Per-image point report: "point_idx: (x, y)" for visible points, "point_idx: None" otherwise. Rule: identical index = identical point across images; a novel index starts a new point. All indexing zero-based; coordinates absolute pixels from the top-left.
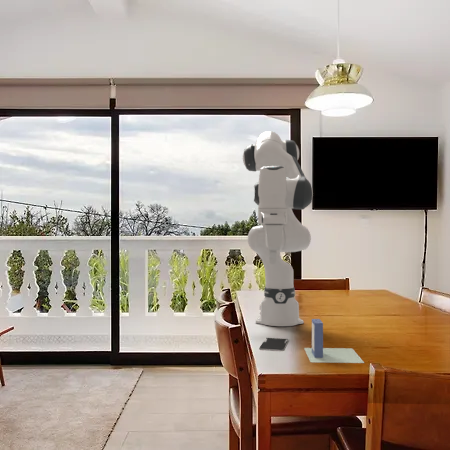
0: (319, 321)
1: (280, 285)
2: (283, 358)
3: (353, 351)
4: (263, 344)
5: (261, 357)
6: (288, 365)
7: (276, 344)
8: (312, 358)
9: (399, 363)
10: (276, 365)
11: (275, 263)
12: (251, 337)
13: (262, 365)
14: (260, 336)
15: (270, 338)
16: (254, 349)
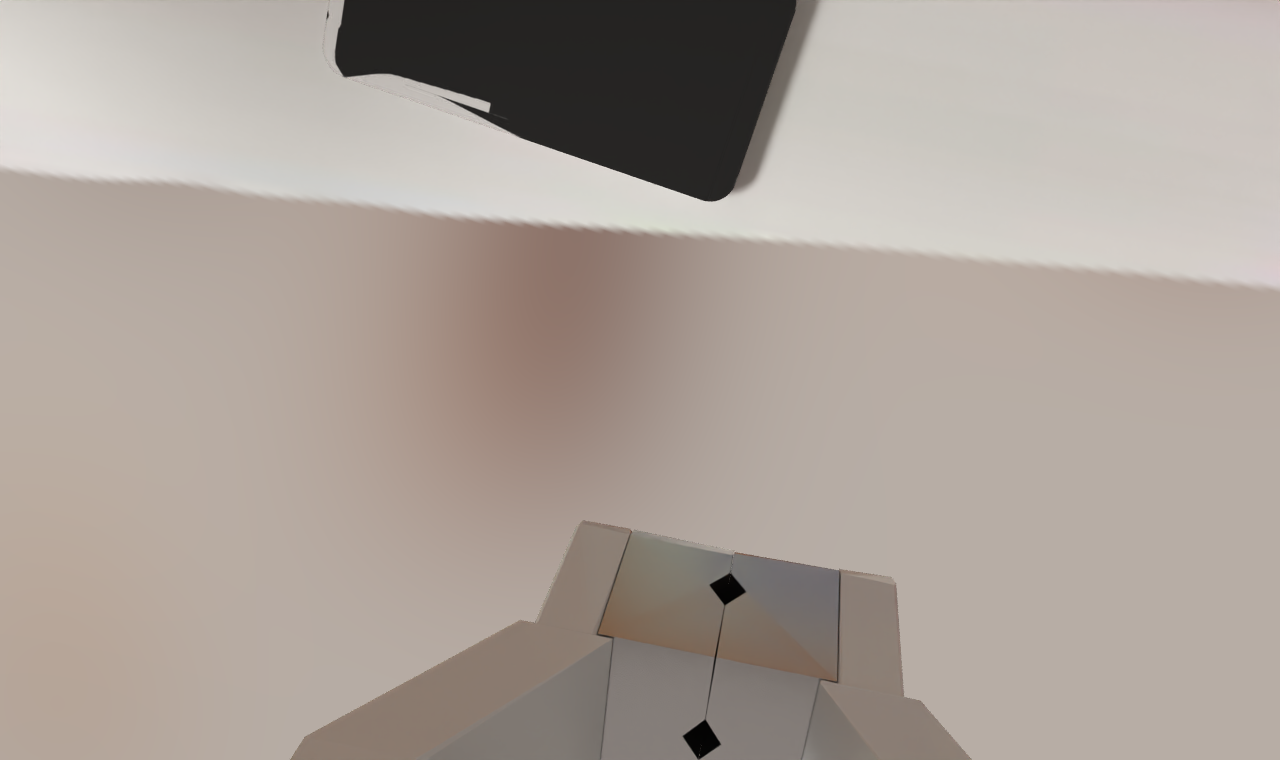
0: None
1: None
2: (1020, 23)
3: None
4: (586, 142)
5: (946, 216)
6: (1270, 23)
7: (589, 14)
8: None
9: None
10: (1236, 134)
11: (888, 582)
12: (254, 186)
13: (1199, 252)
14: (206, 97)
15: (359, 33)
16: (675, 230)
